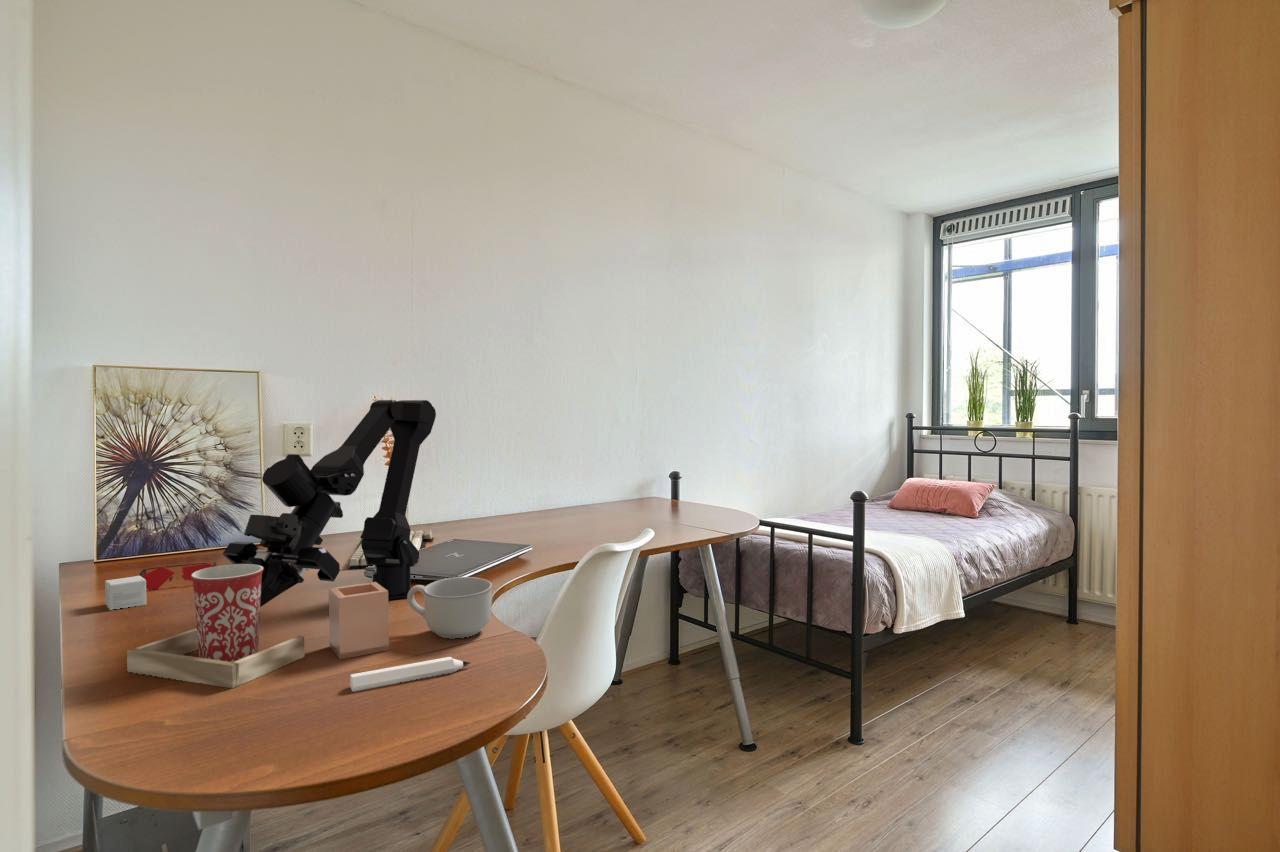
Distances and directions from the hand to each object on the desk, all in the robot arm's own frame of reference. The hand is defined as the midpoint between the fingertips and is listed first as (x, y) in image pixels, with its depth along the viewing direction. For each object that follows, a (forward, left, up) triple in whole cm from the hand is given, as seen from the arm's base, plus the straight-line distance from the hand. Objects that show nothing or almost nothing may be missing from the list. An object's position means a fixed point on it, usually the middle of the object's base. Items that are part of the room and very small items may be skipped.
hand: (251, 608), depth 109 cm
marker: (-21, +22, -7) cm, 31 cm away
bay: (+4, +4, -6) cm, 9 cm away
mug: (+3, +3, -7) cm, 8 cm away
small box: (+23, -39, -7) cm, 46 cm away
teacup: (-29, +4, -7) cm, 30 cm away
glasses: (+17, -58, -7) cm, 61 cm away
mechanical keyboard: (-27, -69, -7) cm, 75 cm away
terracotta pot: (-15, +6, -6) cm, 17 cm away
